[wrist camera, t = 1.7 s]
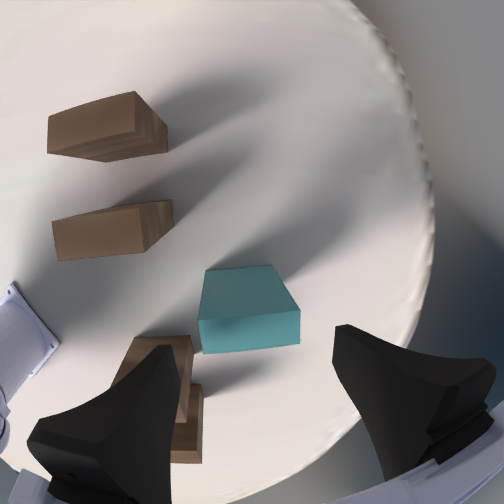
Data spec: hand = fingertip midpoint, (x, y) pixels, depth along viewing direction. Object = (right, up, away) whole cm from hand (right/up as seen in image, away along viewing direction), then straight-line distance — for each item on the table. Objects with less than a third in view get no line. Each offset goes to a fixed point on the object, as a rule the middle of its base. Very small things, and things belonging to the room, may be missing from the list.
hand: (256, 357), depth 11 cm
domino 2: (-8, +7, +8) cm, 13 cm away
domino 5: (-1, +2, +10) cm, 10 cm away
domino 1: (-9, +12, +6) cm, 16 cm away
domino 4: (-7, -9, +12) cm, 16 cm away
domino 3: (-8, -4, +10) cm, 13 cm away
